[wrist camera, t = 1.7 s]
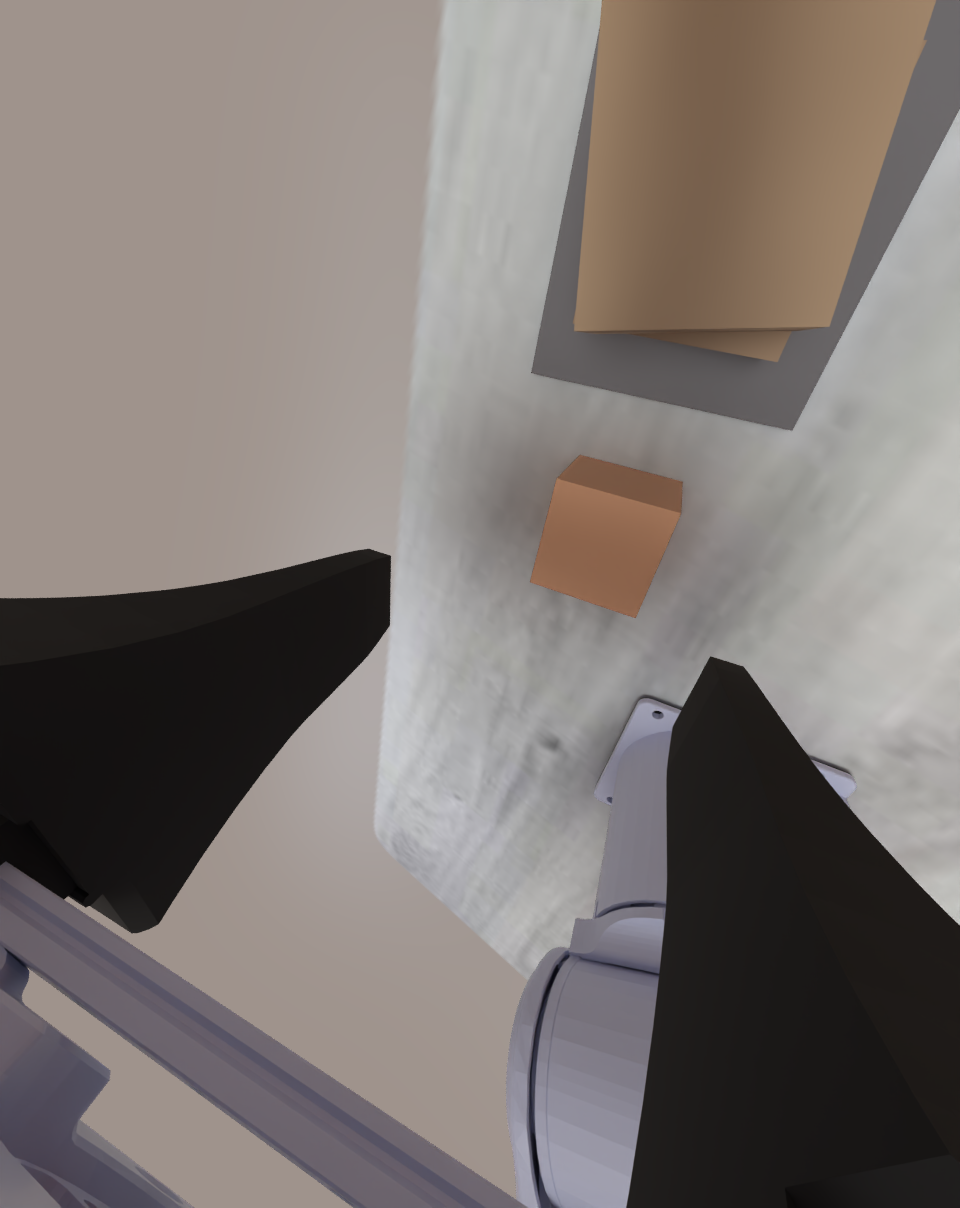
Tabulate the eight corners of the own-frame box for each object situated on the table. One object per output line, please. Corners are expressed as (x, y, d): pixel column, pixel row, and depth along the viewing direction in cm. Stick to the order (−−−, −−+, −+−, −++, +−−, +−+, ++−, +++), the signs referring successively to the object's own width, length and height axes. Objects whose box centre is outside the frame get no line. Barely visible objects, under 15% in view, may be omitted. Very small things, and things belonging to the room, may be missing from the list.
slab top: (889, 27, 9) (968, -97, 6) (798, 330, 11) (829, 326, 9) (622, 79, 10) (602, -2, 8) (595, 334, 13) (574, 331, 10)
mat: (1007, 7, 10) (1018, -5, 10) (789, 428, 15) (792, 430, 14) (608, 2, 12) (606, -7, 12) (534, 372, 17) (531, 373, 17)
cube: (682, 481, 17) (681, 513, 14) (644, 572, 19) (635, 618, 16) (580, 454, 18) (556, 478, 15) (555, 544, 20) (529, 582, 17)
